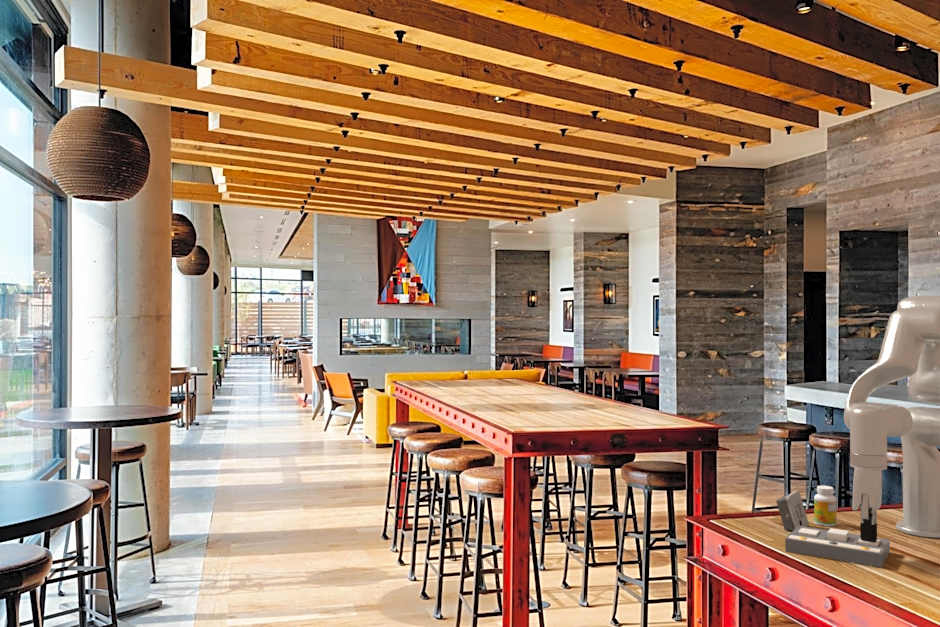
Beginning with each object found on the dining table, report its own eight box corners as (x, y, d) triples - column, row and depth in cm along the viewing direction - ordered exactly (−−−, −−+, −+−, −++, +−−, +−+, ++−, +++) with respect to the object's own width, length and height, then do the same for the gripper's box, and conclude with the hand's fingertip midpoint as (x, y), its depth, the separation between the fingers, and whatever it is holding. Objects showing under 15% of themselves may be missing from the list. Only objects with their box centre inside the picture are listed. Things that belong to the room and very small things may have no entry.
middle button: (830, 538, 180) (830, 528, 180) (849, 541, 177) (849, 530, 177) (827, 542, 177) (827, 532, 177) (845, 545, 174) (845, 535, 174)
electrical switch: (799, 534, 190) (795, 497, 191) (778, 532, 194) (774, 496, 194) (809, 526, 198) (805, 490, 198) (789, 524, 201) (785, 489, 201)
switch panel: (798, 537, 187) (798, 524, 187) (889, 552, 176) (889, 538, 176) (785, 551, 177) (785, 537, 177) (881, 567, 165) (881, 552, 165)
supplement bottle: (809, 522, 201) (809, 485, 201) (826, 520, 203) (825, 484, 203) (824, 527, 196) (824, 490, 196) (841, 525, 198) (841, 488, 198)
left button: (801, 538, 184) (801, 527, 184) (819, 540, 181) (819, 530, 181) (797, 542, 180) (797, 531, 180) (815, 545, 178) (815, 534, 178)
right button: (860, 547, 176) (860, 537, 176) (880, 550, 174) (880, 539, 174) (857, 552, 173) (857, 541, 173) (877, 555, 170) (877, 544, 170)
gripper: (855, 454, 181) (856, 530, 181) (844, 464, 169) (844, 545, 169) (891, 457, 177) (891, 535, 177) (882, 468, 165) (882, 551, 165)
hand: (868, 540), depth 173 cm, fingers closed
